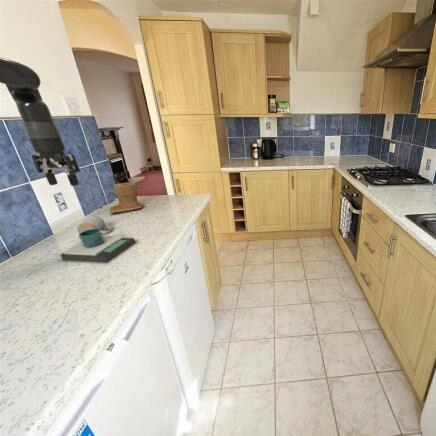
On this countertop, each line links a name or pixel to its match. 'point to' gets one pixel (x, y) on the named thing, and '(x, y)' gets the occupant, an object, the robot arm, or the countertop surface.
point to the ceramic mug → (93, 224)
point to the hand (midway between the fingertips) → (64, 184)
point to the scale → (99, 250)
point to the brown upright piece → (126, 198)
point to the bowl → (91, 238)
